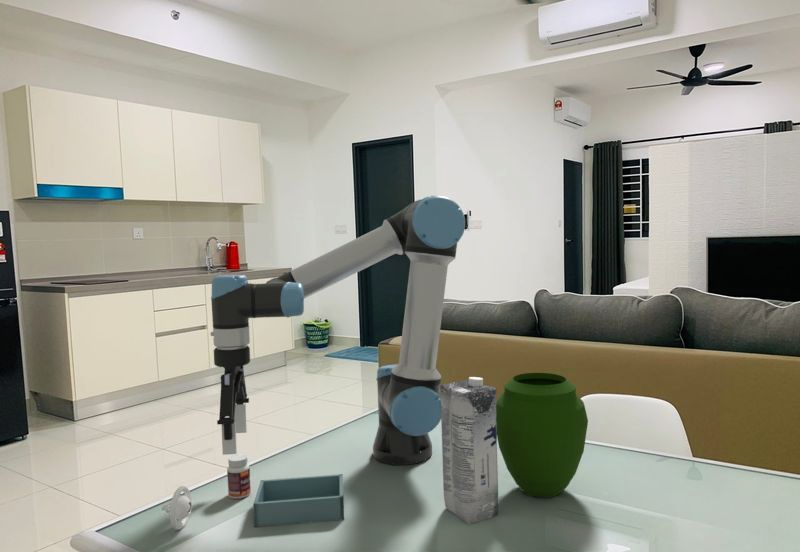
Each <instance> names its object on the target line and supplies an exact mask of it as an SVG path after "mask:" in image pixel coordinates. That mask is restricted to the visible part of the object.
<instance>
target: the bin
mask: <svg viewBox="0 0 800 552" xmlns="http://www.w3.org/2000/svg"><path fill="white" fill-rule="evenodd" d="M343 477H344V474H343V473H341V474H339V473H338V474H327V475H326V474H325V475H313V476H300V477H289V478H274V479H264V480H260V482H259V485H258V488H257V491H256V494H255V498H254V501H253V503H252V504H253V505H252V507H253V525H254V528H260V527H262V528H263V527H270V526H271V527H273V526H285V525H286V526H287V525H296V524H298V525H299V524H306V523H307V524H308V523H318V522H319V523H320V522H330V521H331V522H332V521H344V520H345V503H344V502H345V501H344V500H345V499H344V498H345V497H344V496H345V495H344V493H345V492H344V478H343Z"/></svg>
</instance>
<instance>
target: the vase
mask: <svg viewBox="0 0 800 552" xmlns="http://www.w3.org/2000/svg"><path fill="white" fill-rule="evenodd" d="M503 385H504V386H503V387H504V391H503V393H502V394H501V395H500V396H499V397H498V399H496V425H497V445H498V448H499V450H500V454H501V456H502V457H503V461H504V464H505V467H506V469H507V470H508V472H509V474H510V476H511V477H512V479H513V480H514V483H515V484H516V485H517V486H518V487H519V489H521V491H523V493H525V494H527V495H529V496H531V497H534V498H539V497H541V498H540V499H544V498H545V499H548V498H547V497H549V498H552V497H553V496H554V497H557V496H559V495H560V494H561V493H563V492H564V490H566V488H567V487H568V486H569V485H570V483H571V481H572V479H573V478H574V477H575V475H576V473H577V471H578V468H579V465H580V462H581V459H582V457H583V454H584V451H585V444H586V438H587V431H588V430H587V429H588V425H589V419H588V415H587V411H586V405H585V403H584V400H582V399H581V397H580V396H579V395H578V394H577V393H576V390H577V386H576V385H575V384H574V383H573V382H572V381H569V380H568V379H567V378H566V377H565V376H562V375H561V374H560V375H559V374H556V373H549V372H547V373H546V372H527V373H520V374H517V375H515V376H513V377H512V378H511V379H509V380H507V382H505V383H504V384H503ZM554 497H553V498H554Z"/></svg>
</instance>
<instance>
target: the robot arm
mask: <svg viewBox="0 0 800 552" xmlns="http://www.w3.org/2000/svg"><path fill="white" fill-rule="evenodd" d="M465 229H466V218H465V214H464V212H463V210H462V208H461V207H460V206H459V204H458V203H457V202H455V201H454V200H453V199H452V198H449V197H447V196H442V195H429V196H425V197H424V198H422V199H417V200H415V201H413V202H411V203H410V204H408V205H407V206H406V207H404V208H403V209H401V210H399V212H396V213H395V214H394V215H392V216H390V217H388V218H386V219H384V220H383V222H382V225H381V226H379V227H377V228H375V229H373V230H371V231H369V232H367V233H365V234H363V235H361V236H359V237H357V238H355V239H353V240H350V241H349V242H347V243H344V244H343V245H341V246H338V247H337V248H334V249H332V250H330V251H328V252H326V253H324V254H322V255H320V256H318V257H316V258H314V259H312V260H310V261H307V262H306V263H303V264H302V265H299V266H297V267H295V268H293V269H291V270H290V271H288V272H286V273H283V274H282V275H279V276H278V277H274V278H271V279H270V280H267V281H266V282H265V283H249V281H248V277H247V276H246V275H245V274H225V275H223V274H222V275H217V276H214V277H213V278H212V279H211V297H210V301H211V312H212V313H211V317H212V329H213V330H212V331H211V332H210V336H211V337H213V339H212V340H213V346H214V347H215V348H214V349H213V362H214V365H215V366H216V367H218V368H224V374H221V375H220V397H219V399H220V402H219V418H218V419H219V420H216V424H217V425H221V443H222V455H223V456H225V455H226V456H227V455H237V452H238V451H237V447H238V446H237V434H241V433H243V434H245V433H247V430H248V429H247V427H248V426H247V405H246V404H249V403H250V398H249V397H248V394H247V387H246V381H245V380H246V379H245V378H246V377H245V372H244V370H245V369H244V366H246V365H248V364H250V363H251V350H250V346H248V345H249V344H250V343H251V340H250V339H251V338H250V336H251V335H250V324H249V323H250V322H249V321H250V319H257V318H260V319H261V318H291V317H300V316H302V315H304V310H305V299H306V298H309V297H310V296H312V295H315V294H316V293H319V292H320V291H323V290H324V289H327V288H328V287H330V286H333V285H334V284H337V283H338V282H341V281H343V280H344V279H347V278H349V277H350V276H353V275H354V274H356V273H359V272H361V271H363V270H366V269H367V268H369V267H370V266H372V265H375V264H377V263H379V262H381V261H383V260H385V259H387V258H389V257H391V256H393V255H396V254H397V255H400V256H402V255H404V254H405V255H406V256H407V258H408V259H409V261H410V264H409V271H408V281H407V291H406V296H405V297H406V299H405V305H404V317H403V324H402V332H401V333H402V335H401V342H400V350H399V360H398V364H396V363H395V364H388V365H383V366H380V367H378V368H377V372H376V378H375V379H376V381H377V384H376V386H377V403H378V404H377V407H378V409H377V410H378V427H377V431H376V435H375V437H374V442H373V446H372V455H373V456H372V457H373V458H374V459H375V460H376V461H378V462H381V463H383V464H388V465H394V466H396V465H397V466H398V465H399V466H404V465H413V463H414V464H418V462H419V463H421V461H422V462H424V461H426V460H425V459H427V458H428V459H430V458H431V457H432V456H433V443H432V441H431V437H430V435H429V434H430V432H432V431H433V430H434V429H436V427H438V425H439V424H440V423H441V395H440V385H441V381H442V375H441V373H440V372H439V371H438V369H437V359H438V352H439V343H440V336H441V335H440V334H441V327H442V326H441V325H442V317H443V309H444V300H445V292H446V284H447V276H448V275H447V274H448V267H449V265H450V264H451V263H452V262H453V261H454V260H456V255H457V248H458V243H459V242H460V241H461V238H462V237H463V235H464V233H465ZM430 456H431V457H430ZM429 457H430V458H429ZM428 459H427V460H428ZM423 460H424V461H423Z"/></svg>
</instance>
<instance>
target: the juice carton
mask: <svg viewBox="0 0 800 552" xmlns="http://www.w3.org/2000/svg"><path fill="white" fill-rule="evenodd" d="M497 394H498V393H497V388H496V387H494V386H489V385H484V378H483V377H477V376H469V377H468V379H466V380H459V381H453V382H449V383H443V384H440V392H439V395H440V398H441V420H440V423H441V451H442V479H443V484H442V485H443V499H444V500H443V501H444V506H445V508H446V509H447V510H448V511H450V512H452V513H453V514H454V515H456V516H457V517H459V518H460V519H461V520H462V521H463V522H464V523H466V524H468V525H470V524H475V523H477V522H482V521H484V520H487V519H491V518H494V517H497V516H498V514H499V472H498V438H497V425H496V404H497Z"/></svg>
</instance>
